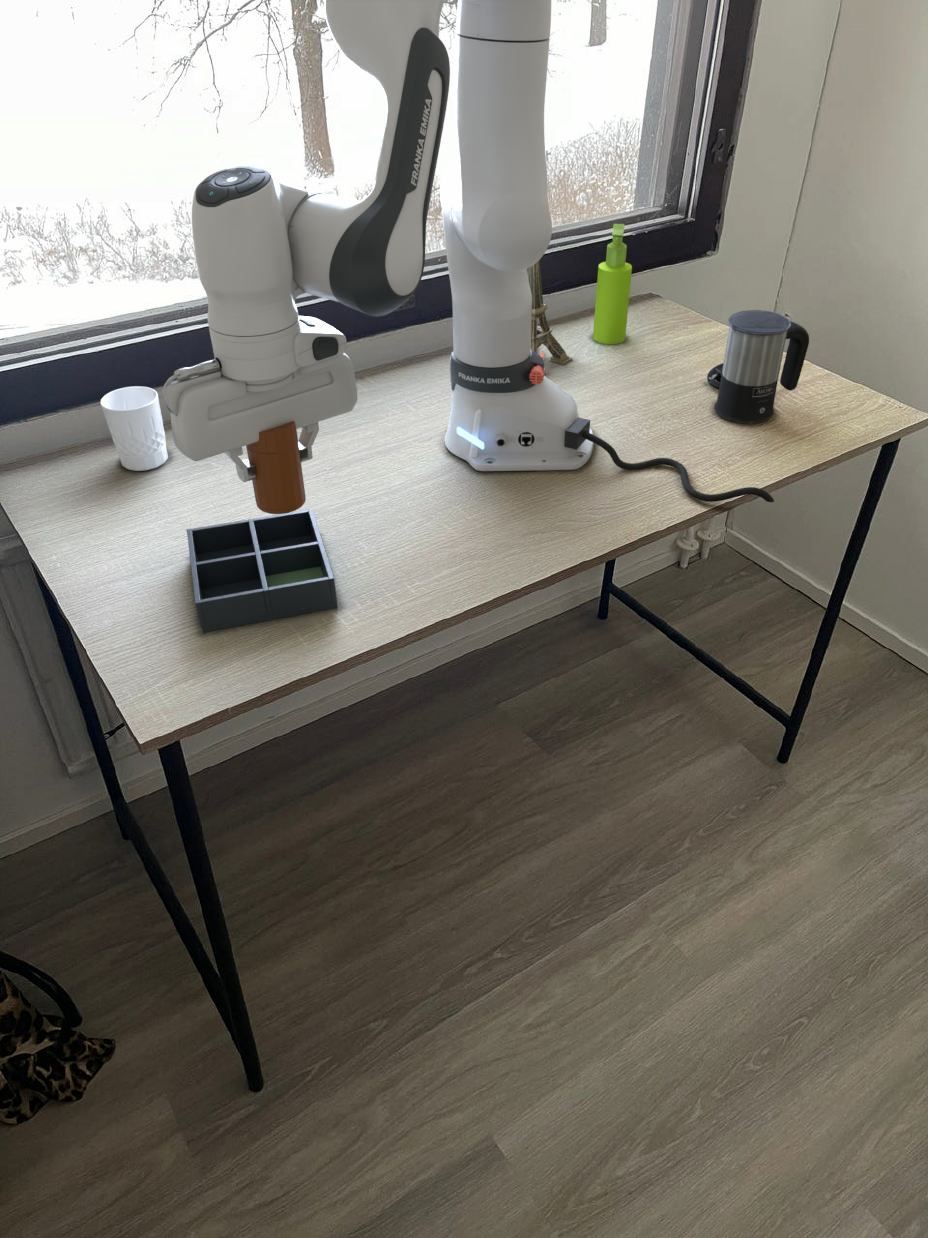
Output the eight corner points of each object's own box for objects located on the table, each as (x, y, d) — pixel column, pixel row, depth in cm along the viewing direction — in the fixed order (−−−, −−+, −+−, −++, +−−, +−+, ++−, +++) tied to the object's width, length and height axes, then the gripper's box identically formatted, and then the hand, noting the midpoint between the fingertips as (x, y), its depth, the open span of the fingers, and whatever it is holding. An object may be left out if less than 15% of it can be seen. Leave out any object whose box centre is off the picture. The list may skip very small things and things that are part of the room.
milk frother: (747, 430, 144) (765, 337, 135) (669, 396, 154) (681, 307, 144) (803, 404, 151) (824, 313, 142) (725, 372, 161) (740, 285, 151)
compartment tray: (316, 536, 123) (312, 508, 120) (337, 607, 111) (334, 578, 109) (193, 557, 120) (186, 529, 117) (202, 632, 108) (195, 603, 105)
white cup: (143, 478, 135) (127, 415, 129) (106, 464, 139) (88, 402, 132) (183, 455, 141) (169, 393, 134) (146, 442, 144) (130, 381, 138)
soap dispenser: (591, 345, 170) (600, 231, 158) (593, 330, 176) (602, 219, 163) (624, 347, 169) (635, 232, 157) (625, 332, 175) (636, 220, 162)
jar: (312, 490, 107) (301, 410, 101) (296, 516, 103) (284, 434, 97) (266, 486, 108) (253, 406, 102) (249, 511, 104) (234, 430, 98)
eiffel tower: (572, 359, 166) (581, 210, 150) (535, 379, 160) (540, 226, 144) (525, 344, 171) (529, 199, 155) (488, 362, 165) (488, 213, 149)
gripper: (173, 385, 87) (200, 511, 96) (359, 333, 97) (369, 452, 106) (146, 363, 91) (175, 486, 100) (328, 315, 101) (340, 431, 110)
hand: (276, 468), depth 103 cm, fingers closed on jar, 5 cm apart
